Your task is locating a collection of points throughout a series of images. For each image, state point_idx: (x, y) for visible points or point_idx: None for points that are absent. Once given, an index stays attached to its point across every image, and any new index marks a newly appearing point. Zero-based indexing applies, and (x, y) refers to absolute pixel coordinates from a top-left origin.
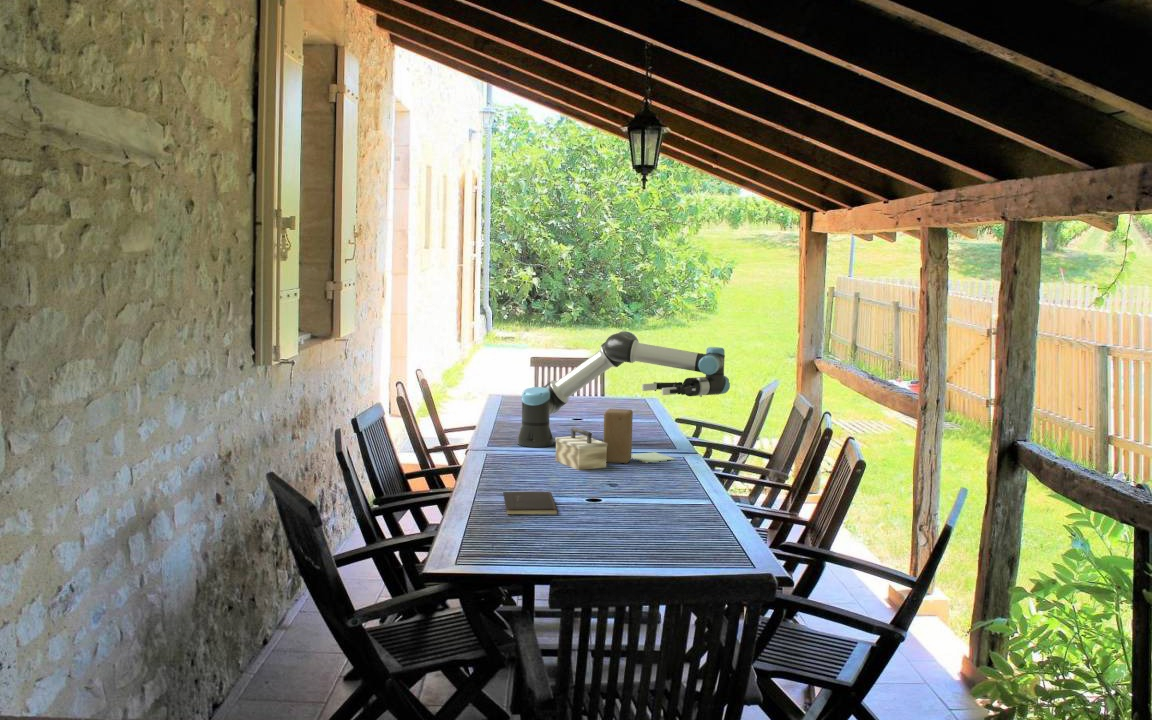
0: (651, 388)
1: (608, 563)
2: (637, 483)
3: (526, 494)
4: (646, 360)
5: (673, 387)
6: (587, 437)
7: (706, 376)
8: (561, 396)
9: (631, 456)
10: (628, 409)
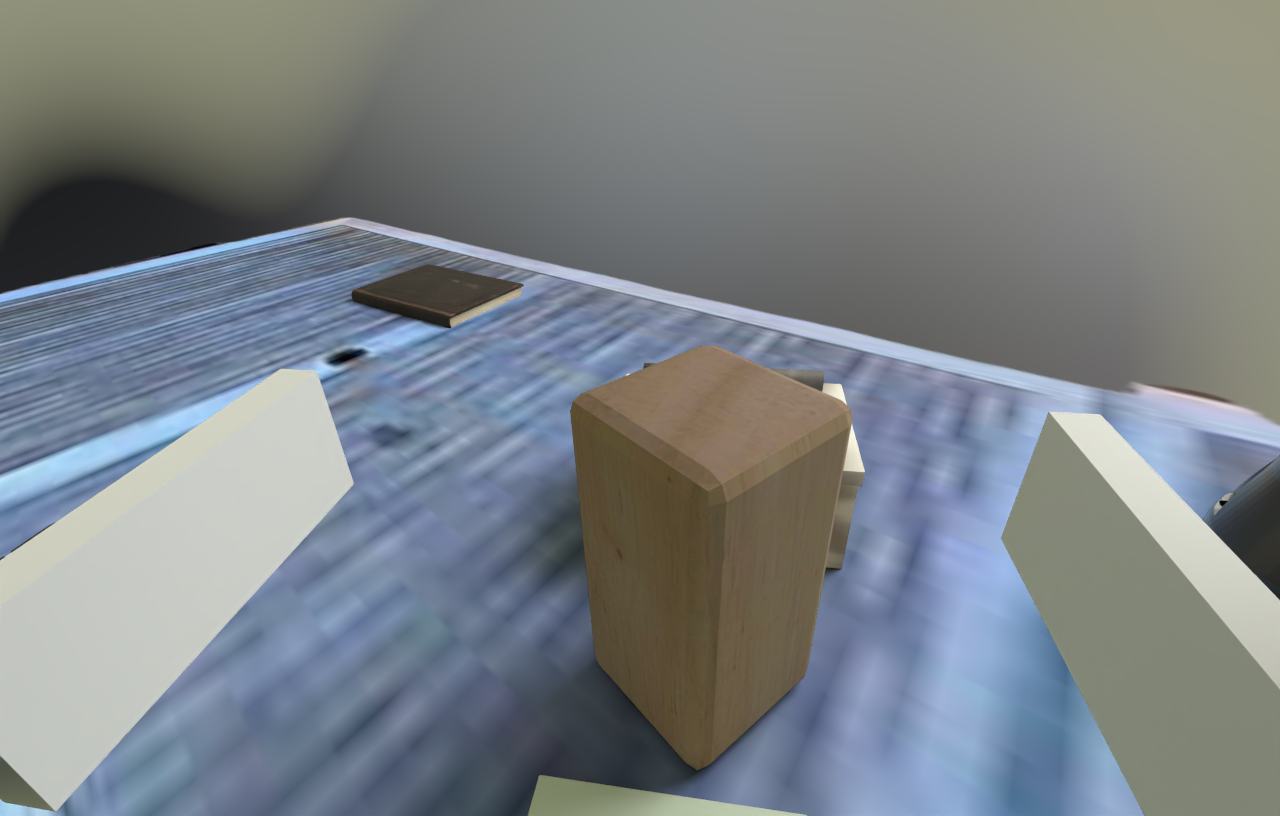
0: (1142, 723)
1: (154, 271)
2: None
3: (472, 294)
4: None
5: (8, 577)
6: None
7: None
8: None
9: (739, 813)
10: (719, 462)
